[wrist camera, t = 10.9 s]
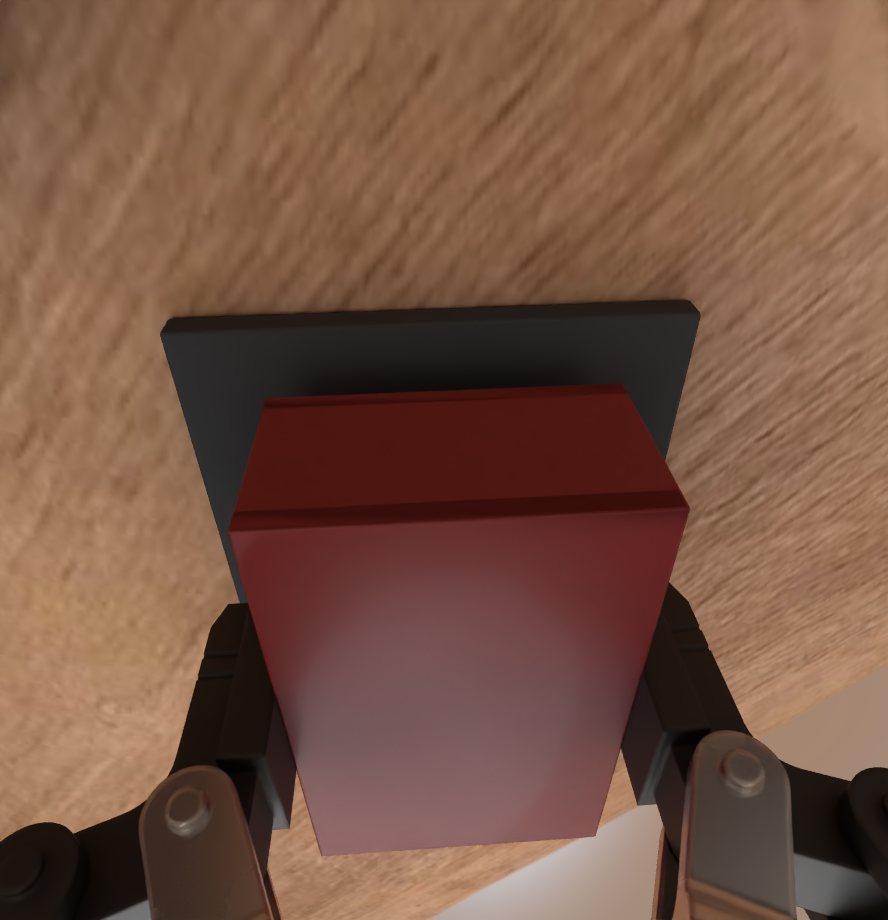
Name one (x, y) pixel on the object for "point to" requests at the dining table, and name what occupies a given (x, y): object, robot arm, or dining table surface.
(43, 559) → the dining table surface
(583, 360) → the felt mat
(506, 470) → the pocket book
